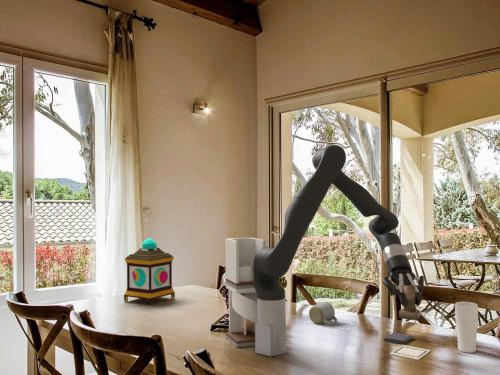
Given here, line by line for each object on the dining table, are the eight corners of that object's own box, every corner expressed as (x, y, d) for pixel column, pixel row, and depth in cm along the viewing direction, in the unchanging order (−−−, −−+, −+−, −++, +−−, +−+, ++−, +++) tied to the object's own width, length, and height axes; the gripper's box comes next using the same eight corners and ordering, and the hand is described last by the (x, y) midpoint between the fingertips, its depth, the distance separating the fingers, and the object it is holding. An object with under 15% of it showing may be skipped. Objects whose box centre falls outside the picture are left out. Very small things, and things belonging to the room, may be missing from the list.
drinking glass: (459, 346, 163) (458, 300, 163) (481, 350, 159) (480, 303, 159) (452, 351, 158) (452, 304, 158) (475, 355, 153) (474, 307, 154)
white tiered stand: (226, 338, 174) (225, 238, 175) (254, 335, 178) (253, 237, 178) (236, 347, 163) (235, 241, 164) (266, 343, 167) (265, 240, 168)
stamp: (414, 320, 153) (414, 288, 154) (399, 317, 157) (398, 286, 157) (420, 317, 157) (420, 285, 157) (405, 314, 160) (404, 284, 161)
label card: (418, 360, 149) (418, 359, 150) (389, 354, 155) (389, 353, 155) (430, 351, 158) (430, 350, 158) (403, 345, 164) (403, 344, 164)
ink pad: (403, 344, 165) (403, 341, 165) (383, 340, 170) (383, 337, 170) (413, 338, 172) (413, 335, 172) (394, 335, 177) (394, 332, 177)
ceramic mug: (307, 322, 194) (307, 303, 194) (319, 318, 200) (319, 300, 200) (329, 328, 187) (329, 307, 187) (341, 323, 193) (341, 304, 193)
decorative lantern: (179, 299, 241) (178, 237, 242) (150, 306, 225) (150, 240, 225) (148, 294, 252) (148, 236, 252) (119, 302, 235) (119, 239, 236)
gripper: (378, 254, 164) (393, 298, 152) (419, 253, 165) (438, 297, 153) (373, 268, 169) (387, 312, 157) (413, 266, 170) (430, 310, 158)
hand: (412, 304), depth 155 cm, fingers closed on stamp, 3 cm apart
